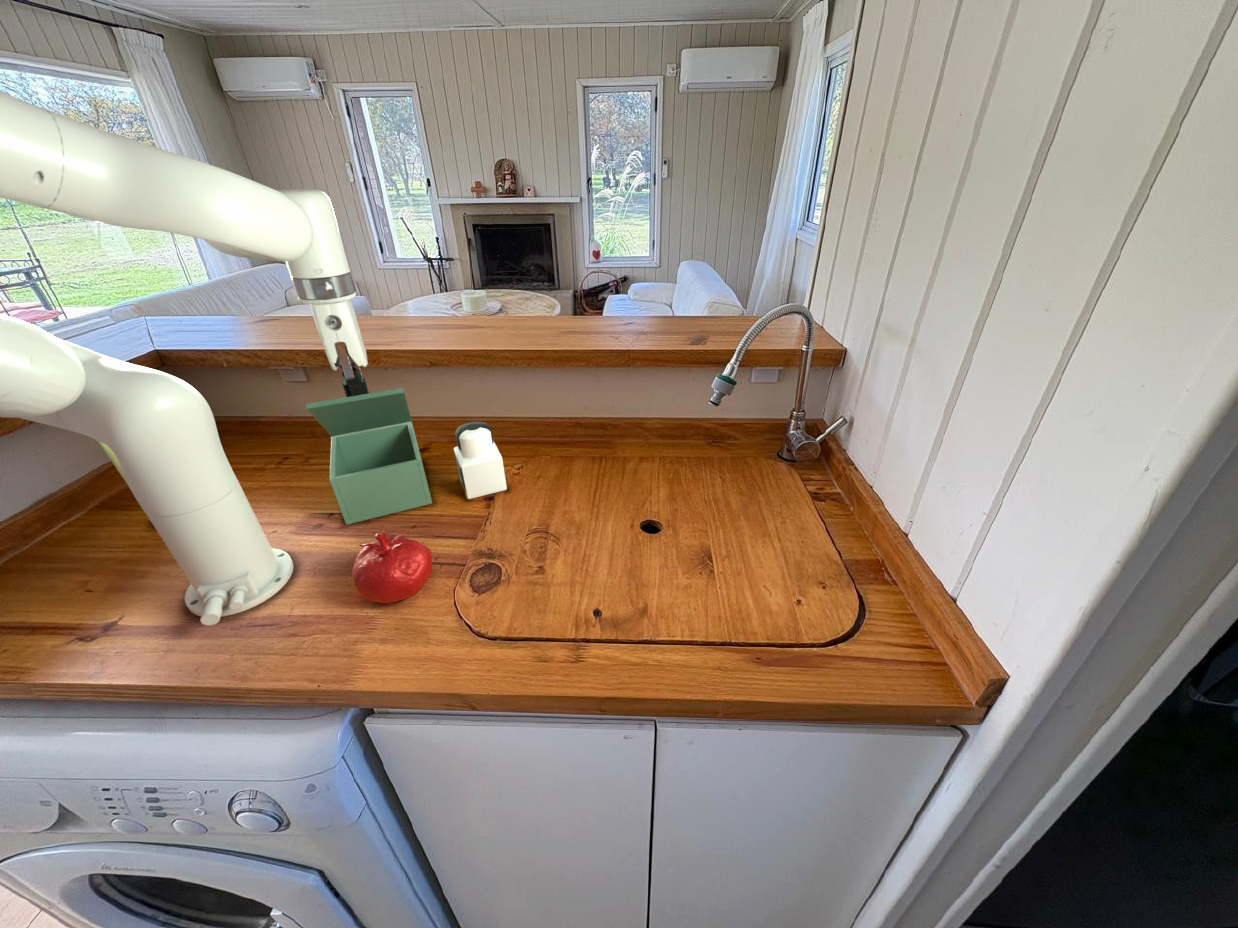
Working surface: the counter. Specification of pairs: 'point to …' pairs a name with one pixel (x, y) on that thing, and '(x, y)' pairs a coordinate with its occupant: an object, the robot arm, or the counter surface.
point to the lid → (361, 411)
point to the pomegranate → (391, 568)
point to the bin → (377, 472)
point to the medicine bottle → (478, 460)
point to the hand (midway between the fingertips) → (360, 403)
